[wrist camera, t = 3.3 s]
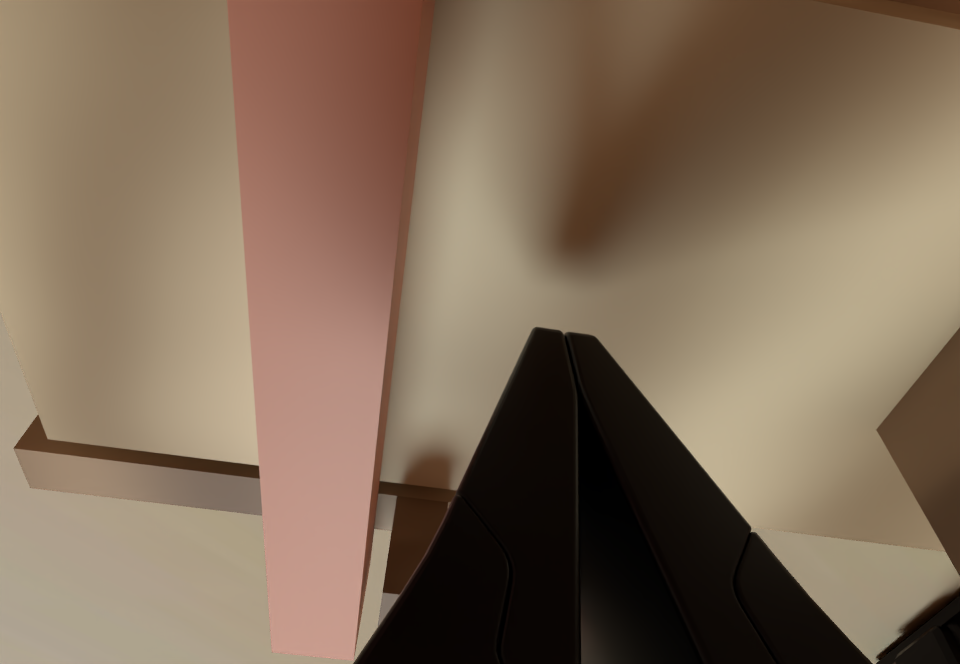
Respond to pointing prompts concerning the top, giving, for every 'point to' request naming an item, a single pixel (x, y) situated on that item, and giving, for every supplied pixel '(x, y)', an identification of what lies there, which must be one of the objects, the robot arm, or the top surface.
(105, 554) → the top surface
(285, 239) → the bar
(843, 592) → the top surface
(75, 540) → the top surface
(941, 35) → the lid
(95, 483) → the toolbox
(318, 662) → the top surface
